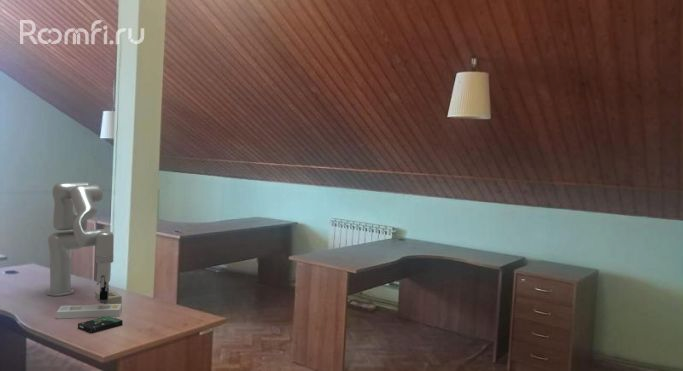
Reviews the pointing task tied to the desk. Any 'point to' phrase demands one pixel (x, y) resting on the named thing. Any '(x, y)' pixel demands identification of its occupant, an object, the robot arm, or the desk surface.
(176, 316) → the desk surface
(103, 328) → the disk drive
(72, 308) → the white device panel
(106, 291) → the robot arm
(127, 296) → the desk surface
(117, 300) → the electrical outlet
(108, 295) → the plug
